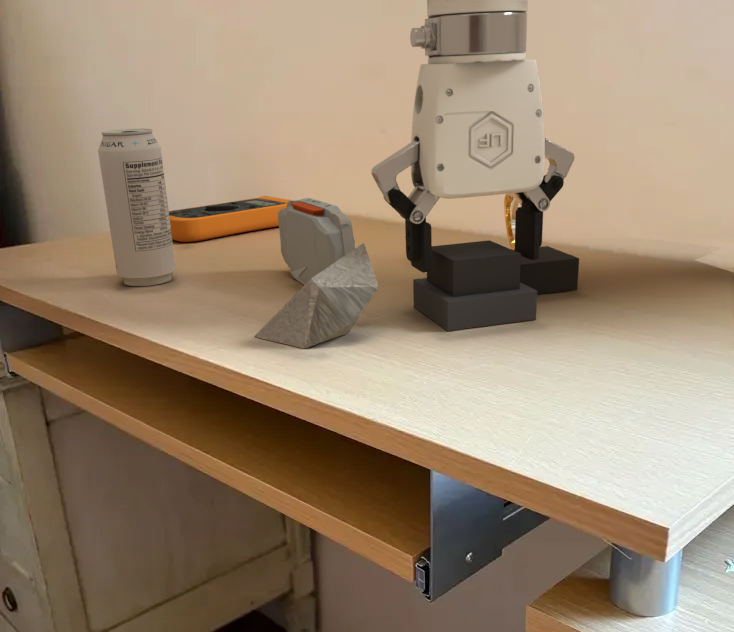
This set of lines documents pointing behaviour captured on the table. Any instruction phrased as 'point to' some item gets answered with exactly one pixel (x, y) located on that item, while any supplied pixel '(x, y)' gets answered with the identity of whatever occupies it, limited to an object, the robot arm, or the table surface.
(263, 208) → the multimeter
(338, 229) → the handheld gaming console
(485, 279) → the black square block
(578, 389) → the table surface
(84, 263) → the table surface
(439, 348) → the table surface
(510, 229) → the ring
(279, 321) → the grey angular faceted piece
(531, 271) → the graphite pad
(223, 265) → the table surface
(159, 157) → the energy drink can
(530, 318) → the base pad
